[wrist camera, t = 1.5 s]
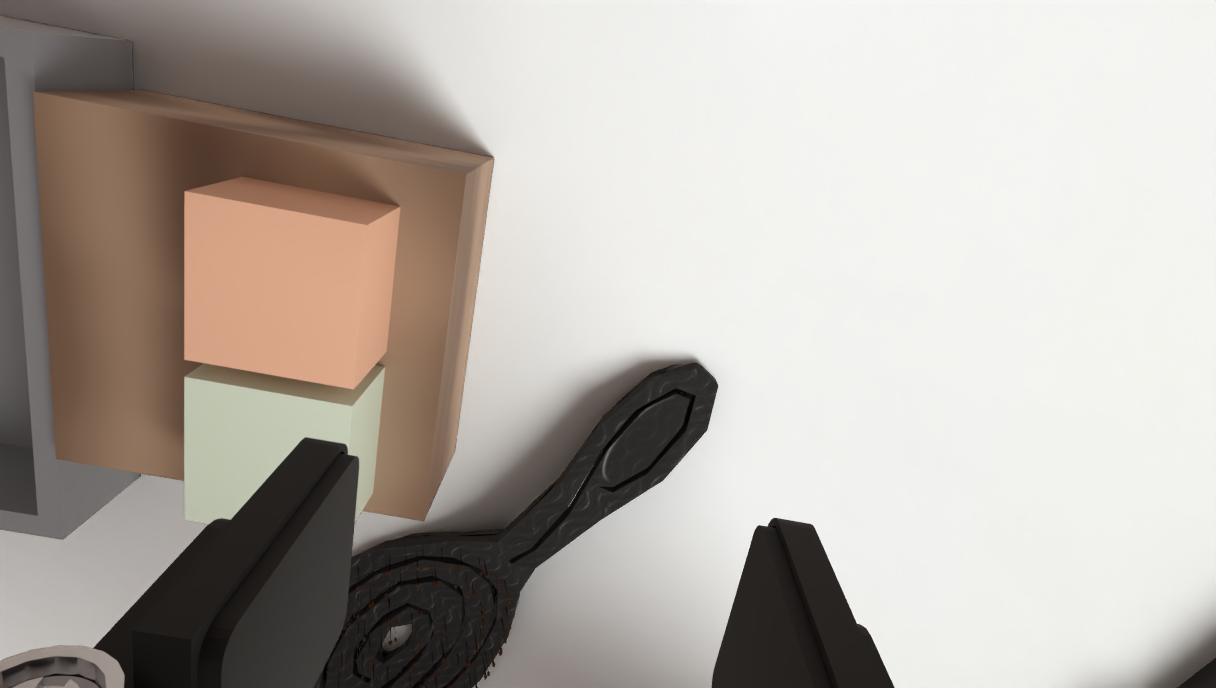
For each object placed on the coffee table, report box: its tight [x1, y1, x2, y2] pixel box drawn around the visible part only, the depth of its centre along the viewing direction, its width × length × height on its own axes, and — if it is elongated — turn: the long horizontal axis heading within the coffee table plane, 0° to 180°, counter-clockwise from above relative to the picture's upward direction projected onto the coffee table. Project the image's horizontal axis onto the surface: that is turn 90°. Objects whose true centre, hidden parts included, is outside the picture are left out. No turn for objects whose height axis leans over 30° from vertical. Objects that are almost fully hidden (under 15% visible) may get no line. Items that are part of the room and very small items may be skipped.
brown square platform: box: [33, 90, 494, 521], centre depth 25 cm, size 12×12×5 cm
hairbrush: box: [314, 363, 718, 688], centre depth 30 cm, size 8×4×25 cm
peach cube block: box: [184, 177, 400, 389], centre depth 21 cm, size 4×4×3 cm
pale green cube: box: [184, 363, 385, 524], centre depth 22 cm, size 4×4×3 cm
